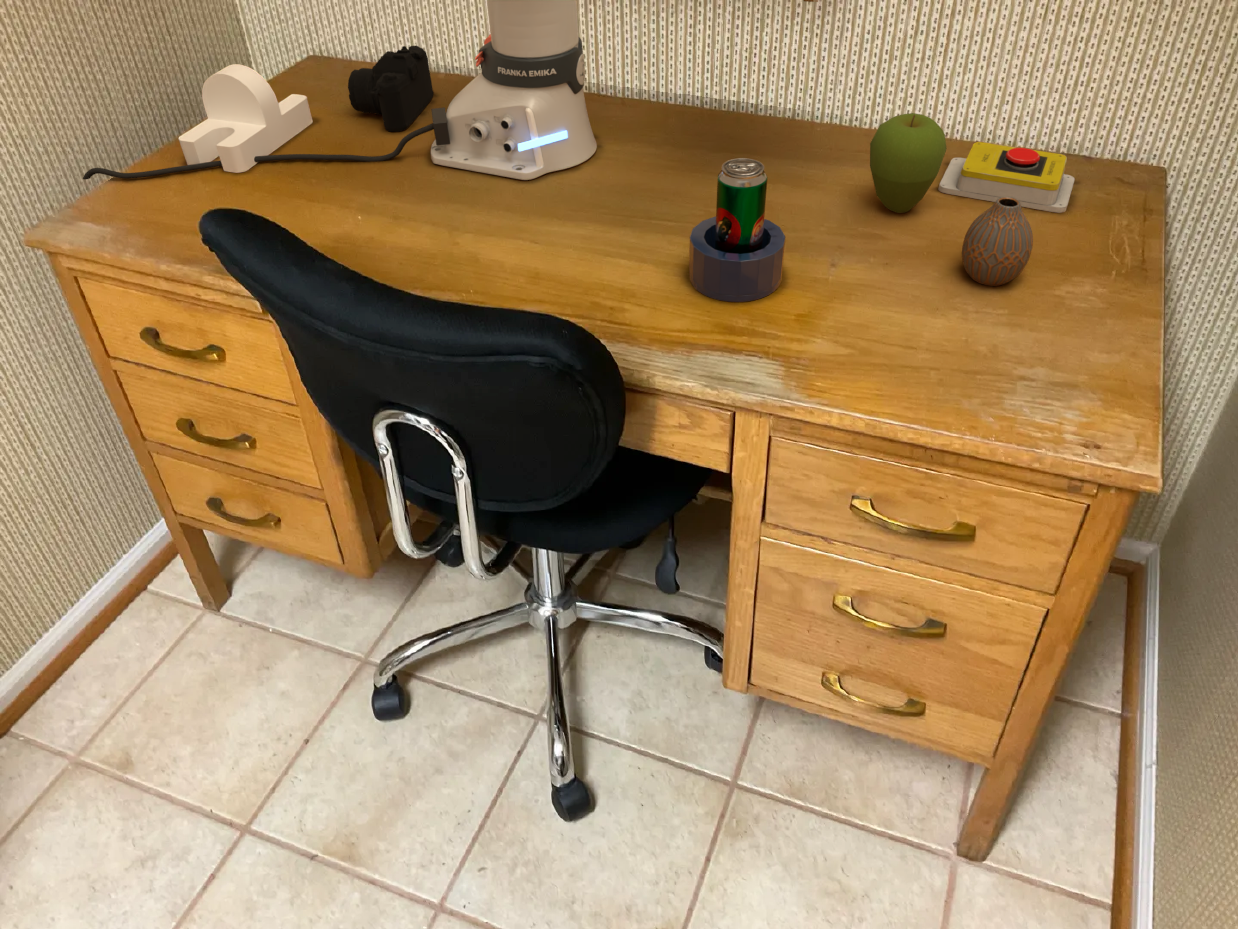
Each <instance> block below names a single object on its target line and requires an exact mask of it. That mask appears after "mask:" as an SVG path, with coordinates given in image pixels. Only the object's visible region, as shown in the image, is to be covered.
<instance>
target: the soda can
mask: <svg viewBox="0 0 1238 929" xmlns="http://www.w3.org/2000/svg"><path fill="white" fill-rule="evenodd" d="M716 181H717V182H716V206H715V207H716V209H715V216H716V229H715V250H719V251H722V252H725V253H735V254H745V253H753V252H755V251H758V250H761V249H762V243H763V230H764V219H765V216H766V202H767V190H768V187H767V186H768V175H767V173H766V171H765V165H764V164H763V163H762V162H761V161H759V160H756V159H753V158H748V157H747V158H746V157H737V158H732V159H729V160H726V161H725V162H723V163H722V165H721V170H720V171H719V173H718V174H717V180H716Z"/></svg>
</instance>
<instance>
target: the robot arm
mask: <svg viewBox="0 0 1238 929" xmlns="http://www.w3.org/2000/svg"><path fill="white" fill-rule="evenodd" d="M803 2H808V3H810V2H811V3H819V0H803ZM486 7H487V14H488V16H487V17H488V22H489V23H488V24H489V32H490V34H488V36H487V37H486V38H485V39H484V41H483V45H482V46H481V47H480V48H479V49H478V54H477V55H476V56H475V58H474V60H475V61H476V62H475V67H480V70H481V71H480V73H478V74H477V75H476V76H475V77H474V78H473V79H472V80H471V81H470V82H469V83H467V84H466V85H465V86H464V87H463V88H462V89H461V90H459V92H458V93H457V94H456V95H455V96H454V97H453V98H452V100H451V101H450V103H449V104H448V107H447V109H446V107H435V108H431V118H432V122H431V123H430V124H427V125H425V126H423V127H421V128H417V129H416V130H413V131H411V132H409V133H408V134H406V135H404V137H402V138H401V140H400V141H399V143H398V145H396V148H394V150H393V151H391V152H390V153H386V154H384V155H378V156H369V155H357V154H323V153H321V154H318V153H288V154H269V155H267V156H256V157H255V158H254V161H255V162H258V163H262V162H263V163H264V162H275V161H305V160H306V161H352V162H362V163H372V162H373V163H375V162H386V161H390V160H393V159H394V158H396V157H398V156H399V155H400V154H401V153H402V151H403V149H404V148H405V145H406V144H407V143H409V142H410V141H411V140H413V139H415V138H417V137H419V136H421V135H423V134H426V133H428V132H430V131H433V133H434V141H433V142H432V144H431V147H430V159H431V162H432V163H433V164H434V165H439V166H444V167H450V168H455V169H460V170H466V171H472V172H478V173H482V174H488V175H494V176H500V177H504V178H505V177H506V178H511V179H516V180H521V181H528V180H529V181H530V180H534V179H536V178H539V177H541V176H543V175H545V174H549V173H552V172H556V171H557V172H558V171H562V170H566V169H570V168H573V167H575V166H578V165H580V164H582V163H584V162H586V161H588V160H589V159H590V158H591V157H592V156H593V155H595V153H596V151H597V148H598V143H597V141H596V137H595V135H594V133H593V129H592V126H591V123H590V118H589V115H588V114H589V113H588V108H587V104H586V99H585V98H586V97H585V92H584V86H585V81H586V68H585V67H586V65H585V54H584V49H583V41H582V38H581V37H580V36H579V25H578V24H579V22H578V21H579V20H578V3H577V0H486ZM217 167H223V166H222V163H221V160H220V159H219V160H212V161H211V162H206V163H199V164H192V165H187V164H186V165H177V166H173V167H166V168H159V169H153V170H146V171H138V172H119V171H115V170H112V169H108V168H104V167H93V168H90V169H88V170H87V171H86V172H85V174H84V175H83V177H82V180H89V179H91V178H92V177H93V176H94V175H96V174H100V175H105V176H109V177H112V178H117V179H123V180H129V179H143V178H150V177H157V176H164V175H170V174H176V173H185V172H190V171H197V170H204V169H212V168H217Z"/></svg>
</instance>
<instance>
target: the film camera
mask: <svg viewBox="0 0 1238 929" xmlns="http://www.w3.org/2000/svg"><path fill="white" fill-rule="evenodd" d="M347 90H348V99H349V101H350V105H351V107H352V108H353V110H354V111H355V112H361V113H363V114H376V115H381V116H382V117H381V118H382V122H383V126H384V129H385V131H387V132H390V133H397V132H398V133H399V132H402V131H403V132H404V131H406V130H407V129H409V127H410V126H411V125H412V124H413V123H414V122H415V120H416V119H417V118H418V117H419V116H420V115H421V113H422V112H423V111H424V110H425V108H427V106H428V105H429V104H430V102H431V101H432V99H433V98H434V93H435V92H434V89H433V83H432V78H431V71H430V65H429V57H428V54H427V51H426V50H425V49H424V48H423V47H420V46H419V45H410V46H408V48H407V46H405V45H403V46H401V49H397V51H396V52H395V51H390V50H387V51H386V52H384V54H382V56H381V57H380V58H379V59H378V60H377V62H376V63H375V64H374V66H372V68H367V67H361V68H359V69H353V70H352V71H351V72H350V74H349V77H348V81H347Z"/></svg>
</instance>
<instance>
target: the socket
mask: <svg viewBox="0 0 1238 929" xmlns="http://www.w3.org/2000/svg"><path fill="white" fill-rule="evenodd" d="M715 229H716V215H715V216H713V217H709V218H706V219H704V220H701V221H700V222H699V223H698V224H696V225H695V226H694V227H693V228H692V230H691V232H690V235H689V247H688V248H689V249H688V251H689V253H688V254H689V255H688V258H689V259H688V272H689V281H690V284H691V285H692V287H693V288H694V289H695V290H696V291H697V292H698V293H699V294H702V295H704V296H706V297H708V298H710V299H714V300H718V301H722V302H728V303H730V302H731V303H745V302H753V301H756V300H757V301H758V300H760V299H764V298H765V297H768V296H770V295H771V294H772V293H774V292H775V291H776V290H777V289H778V288H779V286H780V285H781V282H782V274H783V268H784V257H785V246H786V235H785V233H784V231H783V230H782V228H781V227H780V226H779V225H777V224H776V223H775V222H773V221H771V220H769V219H766V218H764V230H763V243H762V249H761V250H758V251H755V252H753V253H745V254H735V253H725V252H722V251H719V250H715Z"/></svg>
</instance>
